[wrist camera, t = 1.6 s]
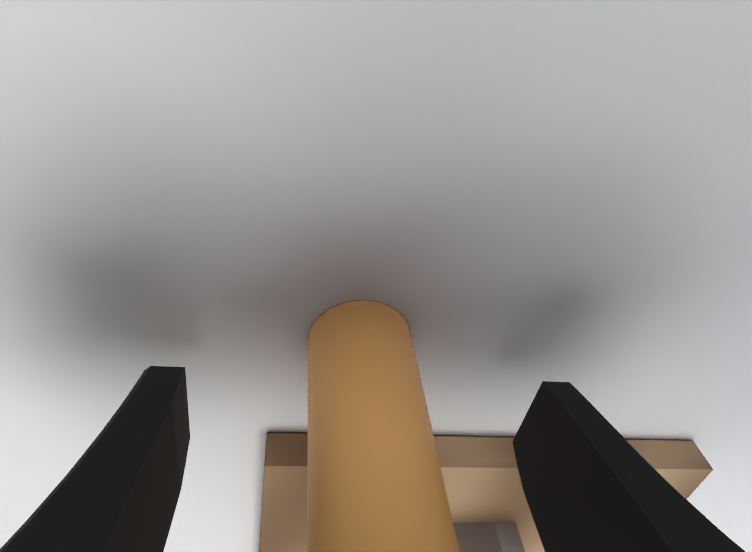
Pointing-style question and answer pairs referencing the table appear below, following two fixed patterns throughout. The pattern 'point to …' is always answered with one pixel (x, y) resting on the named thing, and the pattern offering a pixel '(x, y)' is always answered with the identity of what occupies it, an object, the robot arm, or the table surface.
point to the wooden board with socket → (454, 489)
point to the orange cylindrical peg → (371, 439)
